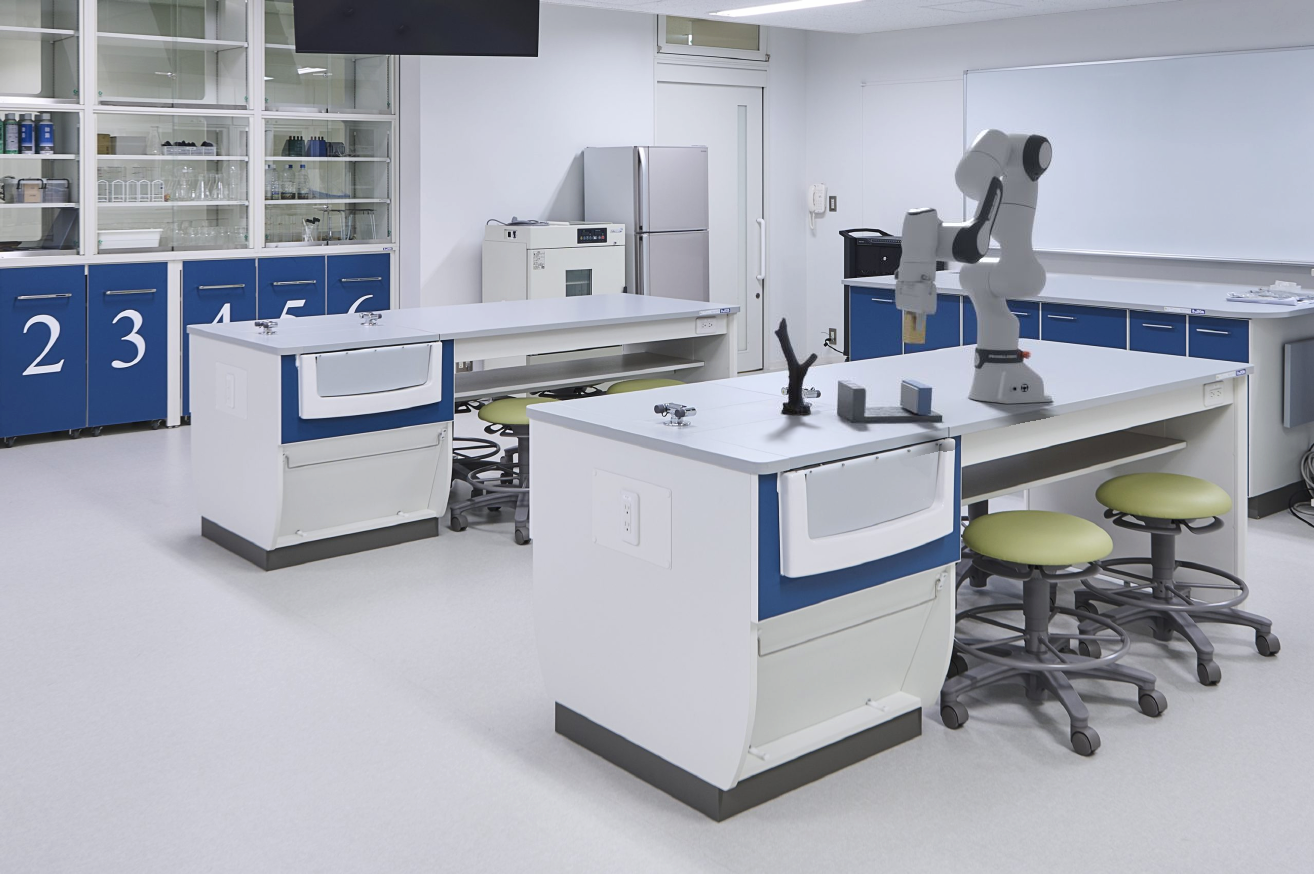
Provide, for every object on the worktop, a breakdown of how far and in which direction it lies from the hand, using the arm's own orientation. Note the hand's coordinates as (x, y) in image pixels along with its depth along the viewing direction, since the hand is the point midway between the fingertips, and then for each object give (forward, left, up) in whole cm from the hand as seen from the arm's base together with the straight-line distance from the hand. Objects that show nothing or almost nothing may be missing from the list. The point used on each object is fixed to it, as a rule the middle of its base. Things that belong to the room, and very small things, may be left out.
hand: (914, 330), depth 300 cm
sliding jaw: (-1, -1, -20) cm, 20 cm away
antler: (+28, -8, -22) cm, 37 cm away
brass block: (0, 0, -3) cm, 3 cm away
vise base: (+5, -1, -22) cm, 23 cm away
